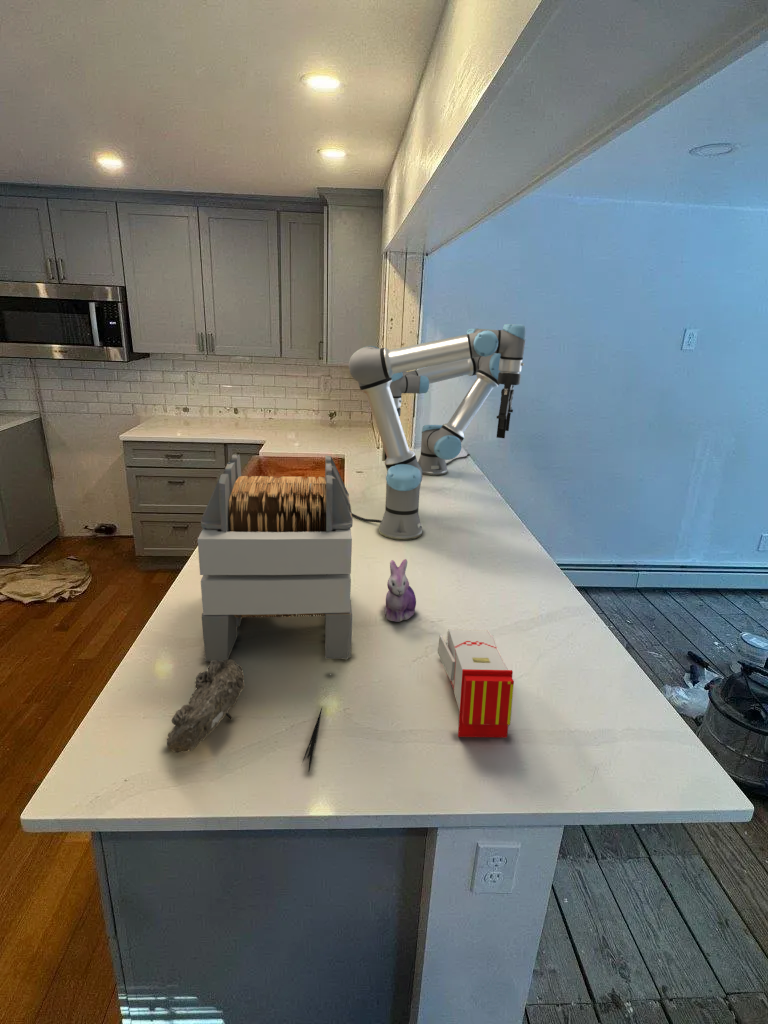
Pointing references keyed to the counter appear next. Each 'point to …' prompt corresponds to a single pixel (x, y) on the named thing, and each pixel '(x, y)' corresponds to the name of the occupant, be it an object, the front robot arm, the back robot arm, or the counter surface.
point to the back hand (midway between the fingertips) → (389, 458)
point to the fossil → (206, 705)
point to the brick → (383, 454)
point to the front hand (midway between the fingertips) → (502, 434)
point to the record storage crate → (276, 555)
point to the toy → (478, 682)
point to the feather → (313, 740)
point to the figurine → (399, 594)
